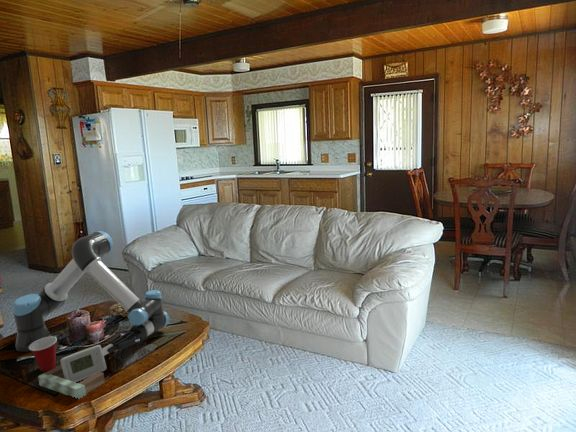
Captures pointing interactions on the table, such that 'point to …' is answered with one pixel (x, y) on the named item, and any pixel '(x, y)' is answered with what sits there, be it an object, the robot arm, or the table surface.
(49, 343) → the plastic cup
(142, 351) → the table surface
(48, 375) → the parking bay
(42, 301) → the robot arm
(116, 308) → the mineral formation
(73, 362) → the digital clock
